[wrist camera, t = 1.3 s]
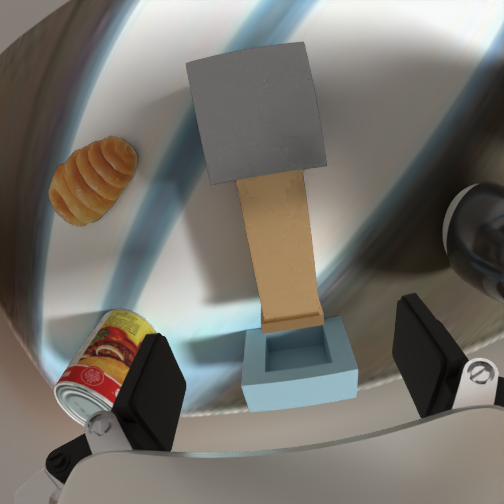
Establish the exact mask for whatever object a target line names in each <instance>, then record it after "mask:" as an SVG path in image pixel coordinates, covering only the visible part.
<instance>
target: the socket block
mask: <svg viewBox="0 0 504 504" xmlns="http://www.w3.org/2000/svg"><path fill="white" fill-rule="evenodd" d="M357 380H358V367H357V364H356V361H355V358H354V355H353V352H352V349H351V346H350V343H349V340H348V337H347V334H346V331H345V328H344V325H343V323H342V320H341V317H340V316H337V317H331V318H325V319H324V325H320V326H314V327H308V328H301V329H295V330H288V331H281V332H274V333H266V334H263V332H262V328H258V329H250V330H246V337H245V349H244V361H243V372H242V384H241V386H242V389H243V392H244V395H245V398H246V401H247V404H248V407H249V410H250V412H257V411H269V410H278V409H287V408H295V407H303V406H310V405H316V404H322V403H328V402H333V401H339V400H344V399H350V398H355V397H356V393H357Z"/></svg>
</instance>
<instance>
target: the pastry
mask: <svg viewBox="0 0 504 504" xmlns="http://www.w3.org/2000/svg"><path fill="white" fill-rule="evenodd" d="M137 162H138V159H137V154H136V152H135V150H134V149H133V147H132V146H131V145H130V144H129V143H127V142H126V141H124V140H123V139H120V138H116V137H113V136H110V137H108V138H105V139H103V140H101V141H95V142H92V143H91V144H89V145H88V146H86V147H84V148H82V149H79V150H76V151H75V152H74V153H72V155H71V156H70V157H69V159H68V160H67V161H66V162H65V163H64V164H60V165H59V166H58V167H57V169H56V171H55V174H54V176H53V179H52V182H51V185H50V188H49V198H50V201H51V203H52V205H53V207H54V209H55V211H56V212H57V213H58V214H59V215H60V216H62V217H63V218H64V220H65V221H67V222H68V223H70V224H72V225H76V226H85V225H86V224H88V223H92V222H95V221H98V220H99V219H101V217H102V216H103V215H104V214H105V213H106V212H107V211H108V210H109V209H110V208H111V207H112V206H113V205H114V203H115V202H116V200H117V199H118V197H119V196H120V194H121V193H122V191H123V190H124V189H125V187H126V186H127V184H128V183H129V182H130V180H131V179H132V177H133V175H134V172H135V169H136V166H137Z"/></svg>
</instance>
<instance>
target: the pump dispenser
mask: <svg viewBox="0 0 504 504" xmlns="http://www.w3.org/2000/svg"><path fill="white" fill-rule="evenodd" d="M443 243H444V248H445V251H446V254H447V256H448V260H449V263H450V265H451V267H452V269H453V271H454V272H455V273H456V274H457V275H458V276H459V277H460V278H461V279H462V280H463V281H465V282H466V283H467V284H469V285H470V286H472V287H473V288H475V289H476V290H478V291H480V292H481V293H483V294H485V295H486V296H488V297H490V298H492V299H494V300H497V301H499V302H501V303H504V184H501V183H498V182H495V181H485V182H481V183H479V184H474V185H471V186H469V187H467V188H465V189H464V190H462V191H461V192H460V193H459V194H458V195H457V196H456V197H455V198H454V199H453V200H452V202H451V204H450V205H449V207H448V209H447V212H446V214H445V218H444V222H443Z"/></svg>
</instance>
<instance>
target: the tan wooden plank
mask: <svg viewBox="0 0 504 504" xmlns="http://www.w3.org/2000/svg"><path fill="white" fill-rule="evenodd" d="M236 184H237V189H238V194H239V199H240V204H241V209H242V214H243V218H244V223H245V228H246V233H247V238H248V243H249V248H250V253H251V258H252V262H253V267H254V272H255V277H256V282H257V287H258V292H259V297H260V301H261V327H262V332H263V334H266V333H274V332H281V331H288V330H295V329H301V328H308V327H314V326H320V325H324V315H323V311H322V308H321V304H320V301H319V297H318V293H317V283H316V273H315V263H314V254H313V245H312V237H311V229H310V221H309V213H308V206H307V198H306V191H305V184H304V178H303V171H302V169H301V170H294V171H287V172H281V173H275V174H269V175H263V176H257V177H251V178H246V179H240V180H236Z"/></svg>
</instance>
